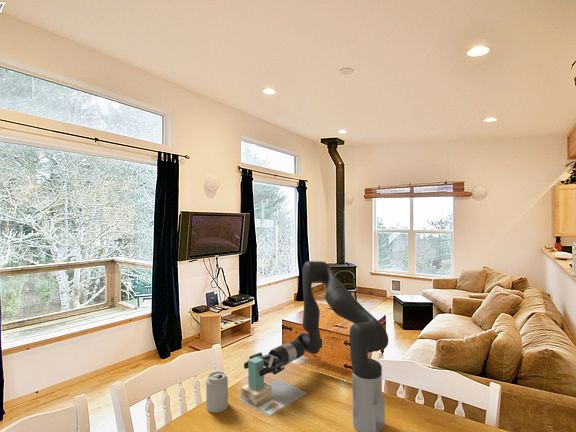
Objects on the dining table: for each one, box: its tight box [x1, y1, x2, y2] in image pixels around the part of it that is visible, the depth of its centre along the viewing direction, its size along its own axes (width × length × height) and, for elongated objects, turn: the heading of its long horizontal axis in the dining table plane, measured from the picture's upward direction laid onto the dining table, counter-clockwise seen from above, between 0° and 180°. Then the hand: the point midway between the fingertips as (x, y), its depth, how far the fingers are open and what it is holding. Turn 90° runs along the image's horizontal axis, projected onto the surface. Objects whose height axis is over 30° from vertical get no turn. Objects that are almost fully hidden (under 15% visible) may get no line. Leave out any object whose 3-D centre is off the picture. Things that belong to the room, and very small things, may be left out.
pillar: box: [247, 356, 265, 391], centre depth 124 cm, size 4×4×10 cm
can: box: [205, 371, 229, 414], centre depth 119 cm, size 8×8×12 cm
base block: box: [240, 382, 272, 406], centre depth 124 cm, size 8×8×4 cm
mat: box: [238, 378, 308, 418], centre depth 125 cm, size 16×20×1 cm
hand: (252, 369), depth 122 cm, fingers open, 8 cm apart
